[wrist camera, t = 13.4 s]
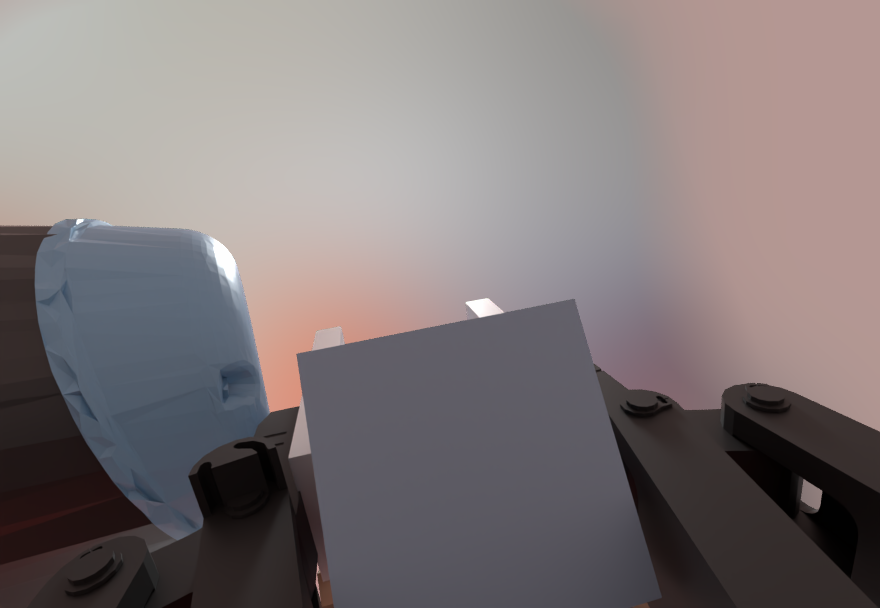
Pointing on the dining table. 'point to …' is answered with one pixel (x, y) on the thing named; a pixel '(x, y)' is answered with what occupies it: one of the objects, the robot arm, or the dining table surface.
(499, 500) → the gray block
